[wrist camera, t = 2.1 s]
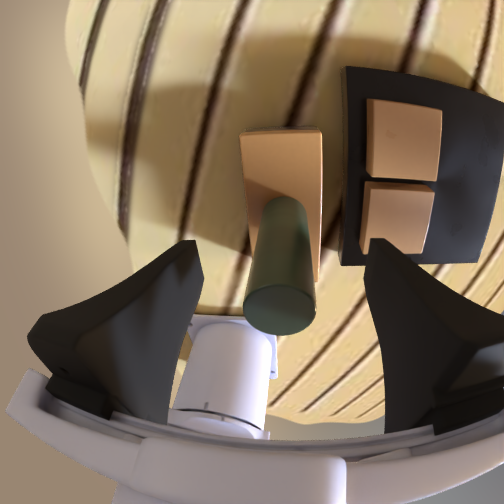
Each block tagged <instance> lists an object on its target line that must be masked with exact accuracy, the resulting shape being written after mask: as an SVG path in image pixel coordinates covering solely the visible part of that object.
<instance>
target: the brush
mask: <svg viewBox="0 0 504 504" xmlns="http://www.w3.org/2000/svg"><path fill="white" fill-rule="evenodd" d="M239 142H240V152H241V161H242V170H243V180H244V189H245V199H246V208H247V217H248V226H249V236H250V245H251V254H252V264H251V268H250V273H249V278H248V283H247V287H246V292H245V297H244V302H243V314H244V316H245V318H246V320H247V322H248V323H249V324H250V325H251V326H252V327H254V328H255V329H257V330H259V331H261V332H263V333H266V334H270V335H277V336H285V335H291V334H295V333H298V332H300V331H302V330H304V329H305V328H307V327H308V326H309V325H310V324H311V323H312V321H313V320H314V318H315V315H316V296H315V284H314V282H318V279H319V264H320V246H321V223H322V133H321V132H320V130H319V129H318V128H317V127H316V126H289V127H264V128H249V129H245V130H244V131H243V132H242V133H241V134H240V135H239Z"/></svg>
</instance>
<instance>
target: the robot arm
mask: <svg viewBox="0 0 504 504" xmlns="http://www.w3.org/2000/svg"><path fill="white" fill-rule="evenodd" d="M363 279H364V285H365V291H366V296H367V301H368V304H369V308H370V311H371V314H372V318H373V321H374V325H375V328H376V332H377V336H378V339H379V343H380V348H381V354H382V363H383V372H384V385H385V431H384V434H381V435H375V436H367V437H358V438H347V439H334V440H311V441H309V440H308V441H288V440H287V441H286V440H269V436H270V432H269V431H264V430H263V428H264V420H265V412H266V403H267V394H268V384H269V379H276V378H277V376H278V371H277V345H276V335H270V334H266V333H263V332H261V331H259V330H257V329H255V328H254V327H252V326H251V325H250V324H249V323H248V322H247V320H246V318H245V317H238V316H215V315H197V314H194V311H195V309H196V306H197V304H198V301H199V298H200V295H201V291H202V286H203V282H204V275H203V271H202V267H201V263H200V258H199V254H198V249H197V245H196V241H195V240H182V241H180V242H178V243H177V244H175V245H174V246H172V247H171V248H169V249H168V250H167V251H165V252H164V253H163V254H161V255H160V256H158V257H157V258H156V259H154V260H153V261H152V262H150V263H149V264H147V265H146V266H145V267H143V268H142V269H140V270H139V271H137V272H136V273H134V274H133V275H132V276H130V277H128V278H127V279H125V280H124V281H122V282H120V283H119V284H117V285H115V286H114V287H112V288H110V289H108V290H106V291H104V292H102V293H100V294H98V295H96V296H94V297H92V298H90V299H87V300H85V301H83V302H80V303H78V304H75V305H73V306H70V307H67V308H64V309H61V310H57V311H54V312H51V313H47V314H43V315H42V316H41V317H40V318H39V319H38V321H37V322H36V324H35V325H34V326H33V328H32V329H31V330H30V332H29V333H28V335H27V339H28V343H29V345H30V347H31V348H32V350H33V351H34V353H35V354H36V355H37V356H38V357H39V359H40V360H41V361H42V362H43V363H44V365H45V366H46V367H47V368H48V369H49V370H50V371H51V372H52V373H53V375H52V377H51V378H50V379H49V378H48V377H46V376H45V375H43V374H41V373H39V372H37V371H35V370H33V369H31V368H29V369H28V370H27V372H26V373H25V375H24V377H23V379H22V380H21V382H20V384H19V386H18V387H17V389H16V391H15V393H14V395H13V397H12V399H11V401H10V402H9V405H8V406H7V408H6V410H5V411H6V413H7V414H8V415H9V416H10V417H11V418H13V419H14V420H15V421H16V422H18V423H19V424H20V425H22V426H23V427H24V428H25V429H27V430H28V431H29V432H31V433H32V434H34V435H35V436H36V437H38V438H39V439H41V440H42V441H44V442H45V443H47V444H48V445H50V446H51V447H53V448H54V449H56V450H57V451H59V452H61V453H62V454H64V455H66V456H67V457H69V458H71V459H73V460H74V461H76V462H78V463H80V464H82V465H83V466H85V467H88V468H89V469H91V470H93V471H95V472H97V473H99V474H101V475H104V476H106V477H108V478H110V479H113V480H115V481H117V482H118V483H117V487H116V490H115V493H114V497H113V500H112V503H111V504H406V503H409V502H413V501H416V500H420V499H423V498H426V497H429V496H432V495H435V494H437V493H441V492H443V491H446V490H449V489H451V488H453V487H456V486H458V485H461V484H463V483H465V482H468V481H470V480H472V479H474V478H476V477H478V476H480V475H482V474H484V473H486V472H488V471H490V470H492V469H494V468H496V467H497V466H499V465H501V464H503V463H504V389H503V387H504V315H501V314H499V313H496V312H493V311H491V310H489V309H487V308H485V307H482V306H480V305H478V304H476V303H474V302H472V301H471V300H469V299H467V298H465V297H463V296H462V295H460V294H458V293H457V292H455V291H453V290H452V289H450V288H449V287H447V286H446V285H444V284H443V283H441V282H440V281H438V280H437V279H435V278H434V277H433V276H431V275H430V274H429V273H427V272H426V271H425V270H423V269H422V268H421V267H420V266H418V265H417V264H416V263H415V262H413V261H412V260H411V259H410V258H409V257H407V256H406V255H405V254H404V253H403V252H401V251H400V250H399V249H398V248H397V247H395V246H394V245H393V244H392V243H390V242H389V241H388V240H386V239H385V238H370V243H369V249H368V255H367V261H366V267H365V273H364V278H363ZM187 331H188V333H189V336H190V339H191V341H192V344H193V346H192V349H191V352H190V355H189V358H188V361H187V364H186V367H185V370H184V373H183V376H182V379H181V383H180V386H179V389H178V392H177V395H176V398H175V401H174V404H173V407H172V409H171V408H169V403H170V397H171V391H172V385H173V380H174V375H175V370H176V365H177V361H178V357H179V353H180V349H181V346H182V342H183V339H184V337H185V334H186V332H187ZM351 462H352V463H351Z"/></svg>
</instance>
